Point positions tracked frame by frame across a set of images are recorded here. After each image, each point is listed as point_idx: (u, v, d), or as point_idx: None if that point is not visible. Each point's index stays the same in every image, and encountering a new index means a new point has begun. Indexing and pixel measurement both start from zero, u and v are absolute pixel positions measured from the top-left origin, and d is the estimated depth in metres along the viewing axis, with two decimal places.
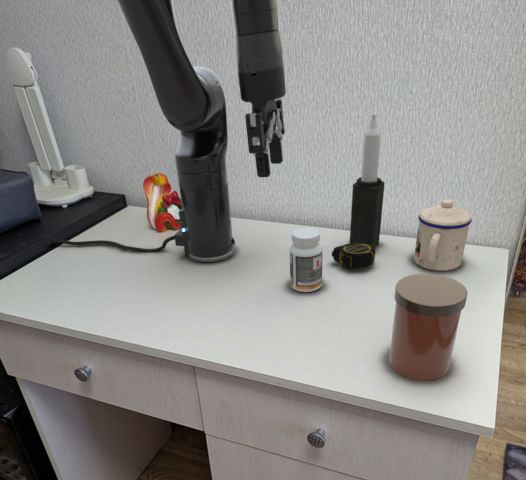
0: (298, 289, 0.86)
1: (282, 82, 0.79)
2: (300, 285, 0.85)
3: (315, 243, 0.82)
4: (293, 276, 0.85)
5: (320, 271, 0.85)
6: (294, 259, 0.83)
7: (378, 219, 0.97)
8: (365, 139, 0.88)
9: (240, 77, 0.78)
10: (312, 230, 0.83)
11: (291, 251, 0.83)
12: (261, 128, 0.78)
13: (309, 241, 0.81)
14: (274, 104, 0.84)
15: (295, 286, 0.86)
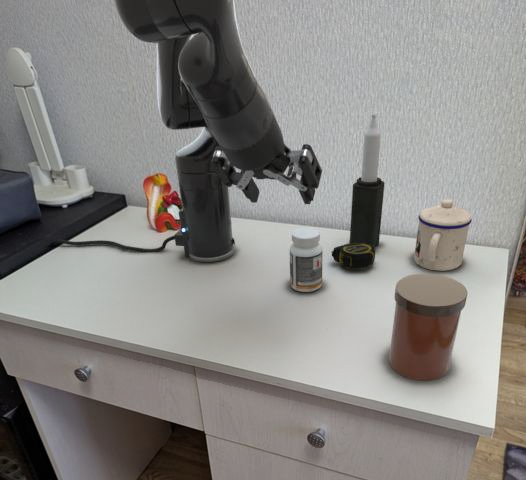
0: (298, 289, 0.86)
1: (236, 161, 0.60)
2: (300, 285, 0.85)
3: (315, 243, 0.82)
4: (293, 276, 0.85)
5: (320, 271, 0.85)
6: (294, 259, 0.83)
7: (378, 219, 0.97)
8: (365, 139, 0.88)
9: None
10: (312, 230, 0.83)
11: (291, 251, 0.83)
12: (218, 171, 0.68)
13: (309, 241, 0.81)
14: (273, 161, 0.63)
15: (295, 286, 0.86)
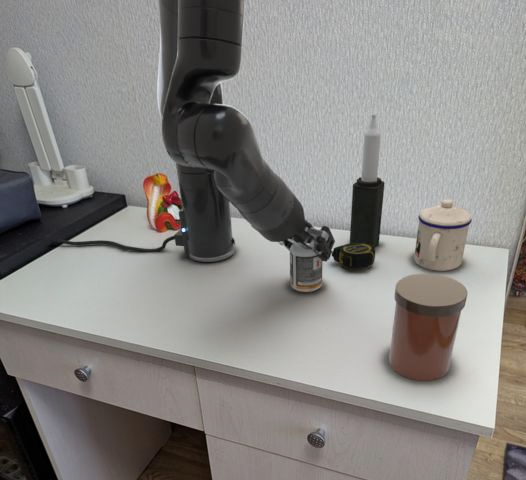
0: (298, 289, 0.86)
1: (262, 235, 0.74)
2: (300, 285, 0.85)
3: (315, 243, 0.82)
4: (293, 276, 0.85)
5: (320, 271, 0.85)
6: (294, 258, 0.83)
7: (378, 219, 0.97)
8: (365, 139, 0.88)
9: None
10: None
11: (291, 251, 0.83)
12: None
13: None
14: (296, 233, 0.75)
15: (295, 286, 0.86)
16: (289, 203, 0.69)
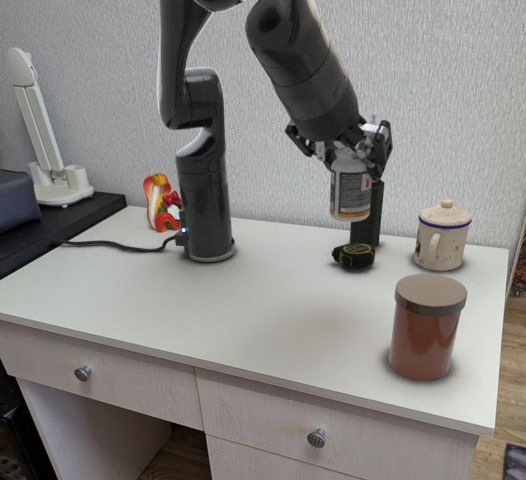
0: (341, 218, 0.68)
1: (303, 131, 0.56)
2: (344, 212, 0.68)
3: None
4: (335, 200, 0.68)
5: (369, 194, 0.67)
6: (337, 176, 0.66)
7: (378, 219, 0.97)
8: None
9: None
10: None
11: (334, 167, 0.66)
12: (294, 140, 0.65)
13: None
14: (345, 132, 0.58)
15: (337, 214, 0.68)
16: (343, 78, 0.52)
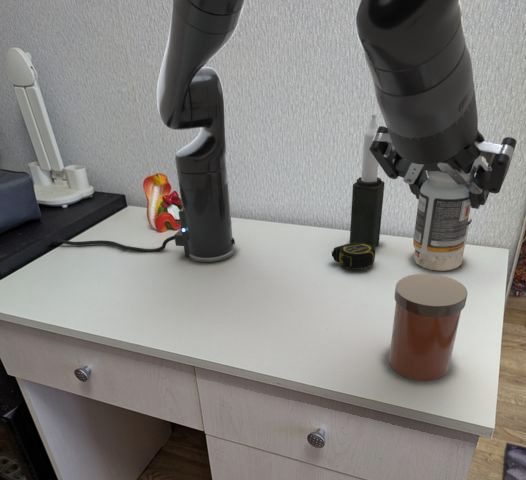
0: (430, 253, 0.56)
1: (407, 151, 0.44)
2: (435, 246, 0.55)
3: None
4: (424, 232, 0.56)
5: (466, 224, 0.55)
6: (430, 203, 0.53)
7: (378, 219, 0.97)
8: (365, 139, 0.88)
9: None
10: None
11: (426, 192, 0.53)
12: (379, 159, 0.52)
13: None
14: (457, 152, 0.46)
15: (426, 248, 0.56)
16: (471, 85, 0.39)
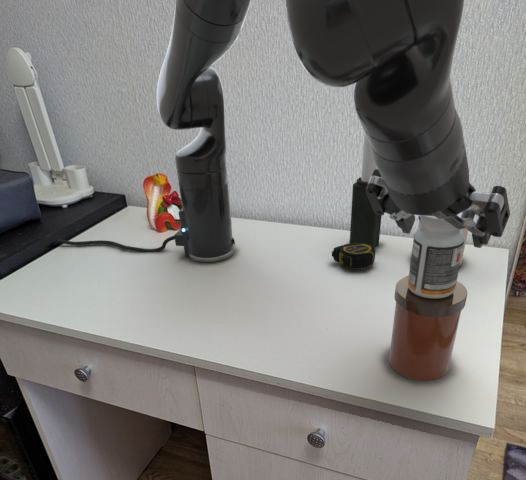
0: (424, 295, 0.59)
1: (402, 203, 0.47)
2: (428, 289, 0.58)
3: None
4: (417, 275, 0.59)
5: (458, 268, 0.58)
6: (423, 250, 0.56)
7: (378, 219, 0.97)
8: (365, 139, 0.88)
9: None
10: None
11: (419, 239, 0.56)
12: (371, 199, 0.55)
13: None
14: None
15: (420, 290, 0.59)
16: (462, 148, 0.42)
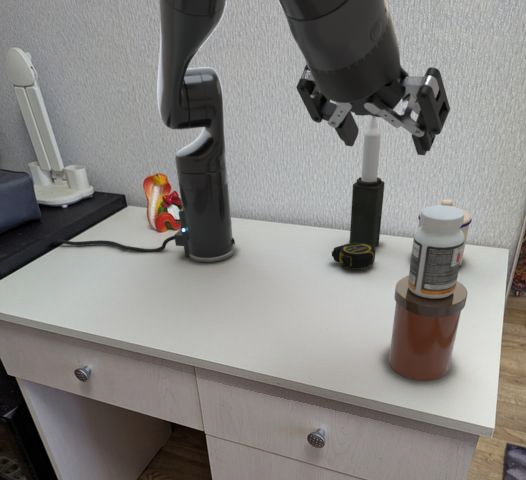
0: (424, 295, 0.59)
1: (327, 87, 0.43)
2: (428, 289, 0.58)
3: (458, 227, 0.55)
4: (417, 275, 0.59)
5: (458, 268, 0.58)
6: (423, 250, 0.56)
7: (378, 219, 0.97)
8: (365, 139, 0.88)
9: None
10: (450, 208, 0.56)
11: (419, 239, 0.56)
12: (305, 100, 0.51)
13: (452, 223, 0.54)
14: (381, 91, 0.44)
15: (420, 290, 0.59)
16: (384, 12, 0.38)
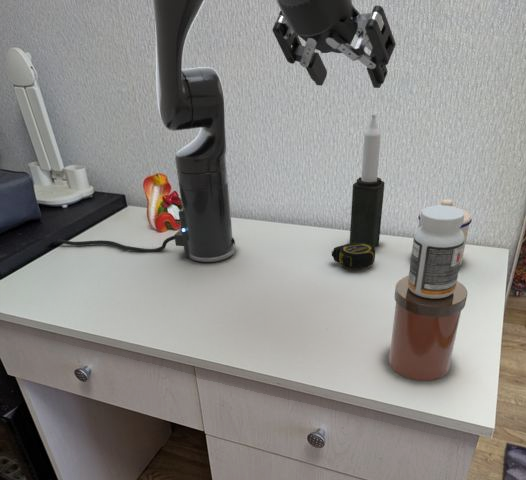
0: (424, 295, 0.59)
1: (294, 22, 0.54)
2: (428, 289, 0.58)
3: (458, 227, 0.55)
4: (417, 275, 0.59)
5: (458, 268, 0.58)
6: (423, 250, 0.56)
7: (378, 219, 0.97)
8: (365, 139, 0.88)
9: None
10: (450, 208, 0.56)
11: (419, 239, 0.56)
12: (280, 41, 0.62)
13: (452, 223, 0.54)
14: (338, 26, 0.55)
15: (420, 290, 0.59)
16: None
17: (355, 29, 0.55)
